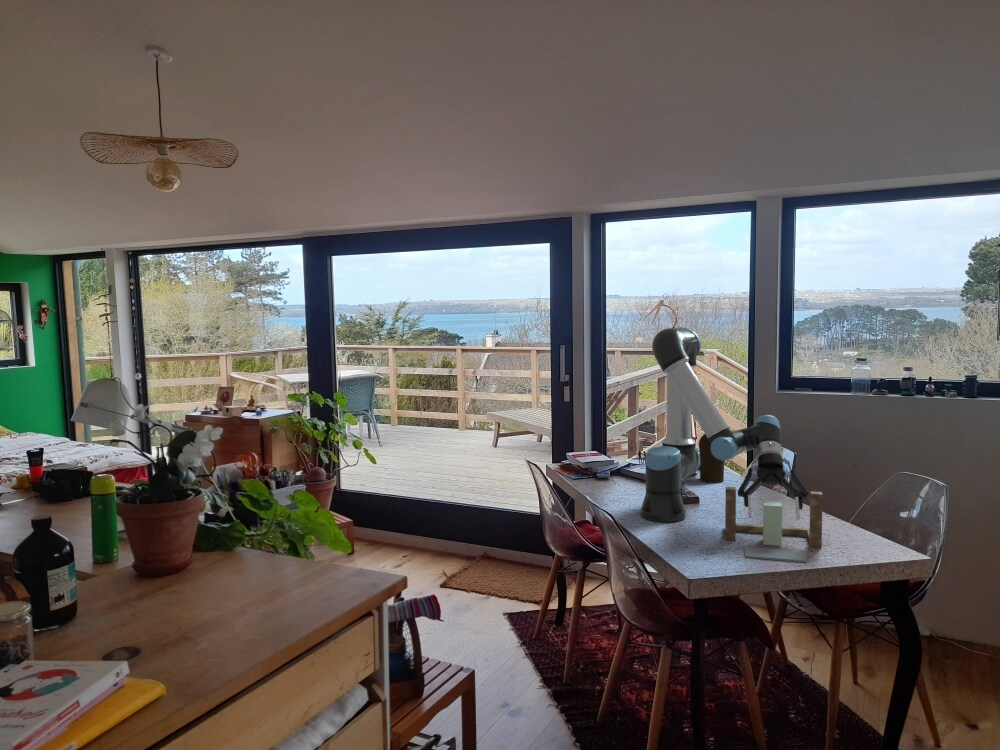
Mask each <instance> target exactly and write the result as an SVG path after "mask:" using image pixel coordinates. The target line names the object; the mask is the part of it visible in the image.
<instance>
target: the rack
mask: <svg viewBox="0 0 1000 750" xmlns="http://www.w3.org/2000/svg"><path fill="white" fill-rule="evenodd" d="M809 493H810V494H809V528H806V527H805V528H803V527H794V526H793V527H792V526H782V536H795V537H806V538H808V539H807V541H808V544H809V547H810V548H818V547H820V548H821V547H822V545H823V543H822V542H823V499H824V498H823V492H822V491H813V490H812V491H811V490H810V491H809ZM724 504H725V511H724V512H725V514H724V515H725V516H724V518H725V519H724V520H725V521H724V523H725V524H724V526H725V527H724V531H725V532H724V533H725V534H724V539H725V541H730V542H736V535H737V534H736V532H737V533H738V532H739V533H740V532H742V533H753V534H763V524H749V523H736V521H737V517H736V515H737V487H736V486H725V503H724ZM820 548H819V549H820ZM821 549H822V548H821Z"/></svg>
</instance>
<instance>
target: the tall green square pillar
mask: <svg viewBox="0 0 1000 750" xmlns="http://www.w3.org/2000/svg"><path fill="white" fill-rule="evenodd" d="M782 505H783V504H782V501H771V500H770V501H767V500H763V502H762V507H763V508H762V525H763V533H762V542H763V545H765V546H767V545H768V546H778V547H779V546H780V547H781V546H783V545H782V544H783V541H782V539H783V535H782V527H783V506H782Z"/></svg>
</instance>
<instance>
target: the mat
mask: <svg viewBox="0 0 1000 750" xmlns="http://www.w3.org/2000/svg"><path fill="white" fill-rule="evenodd" d="M744 556H745V558H746V559H755V558H756V560H757V559H758V560H768V561H780V562H782V561H783V562H792V563H793V562H795V563H802V564H804V563H805V564H807V563H808V562H807V561H808V560H807V556H806V555H805V551H803V550H791V549H781V548H780V549H778V548H767V547H766V548H765V547H753V546H744Z"/></svg>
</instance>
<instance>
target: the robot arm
mask: <svg viewBox="0 0 1000 750" xmlns="http://www.w3.org/2000/svg"><path fill="white" fill-rule="evenodd" d="M701 342H702V341H701V339H700V337H699V335H698V334H697V332H695V331H694V330H692V329H690V328H686V327H675V328H671V327H670V328H669V327H668V328H665V329H664V328H663V329H661V330H660V331H659V332H657V333H656V334H655V336H654V337H653V340H652V344H651V349H652V353H653V354H652V355H653V356H654V358H655V360H656V362H657V364H658V366H659V368H661V371H662V372H663V373H664V374H666V437H665V438H664V439H663V440H662V444H661V446H658V447H657V446H655V447H652V448H650V449H648V450H647V451H646V453H645V459H644V461H645V495H644V498H643V501H642V504H641V506H640V516H641V518H643V519H645V520H648V521H652V522H659V523H674V522H680V521H683V520H685V519H686V516H687V515H686V513H687V512H686V507H685V505H684V502H683V499H682V496H681V480H684V479H687V478H689V477H691V476H692V475H693V474H694V473H695V472H696V471H697V470H698V469H699V468H700V456H699V450H697V448H696V447H697V445H696V440H695V439H693V437H692V415H693V416H694V418H695V421H696V422H697V423H698V425H699V426H700V428H701V429H702V431H703V434H706V436H707V438H708V439H709V441H710V443H711V453H712V454H713V456H714V457H715V458H717V459H719V460H724V461H728V460H732V459H734V458H735V457H736V456H738V455H741V454H743V453H744V452H748V451H752V450H755V449H756V452H757V454H756V455H757V470H756V469H752V468H751V467H749V468H748V469H747V475H746V476H745V478H744V480H743V481H742V482H741V485H740V486H739V488H738V489H737V496H738V497H742V498H743V504H744V505H743V506H744V507H745V508H747V511H748V517H747V518H748V519H749V518H750V519H751V518H752V499H751V496H752V494H754V493H755V492H756V491H757V490H758V489H759V488H760V487H762V486H763V485H764V484H766V485H768V486H769V485H773V486H777V485H779V486H780V487H782V488H784V489H785V490H786V491H787V492H788V493H789V494H790V495H791V496H792V497H794V504H795V505H794V506H795V517H796V519H795V520H796V521H800V519H801V518H800V517H801V515H800V514H801V513H800V510H803V506H804V505H803V503H804V501H803V500H808V498H809V492H808V491H807V489H806V488H805V486H804V485H803V484H802V482H801V481H800V480H799V478H798V477H797V476H796V473H795V472H796V471H795V470H794V469H791V470H789V471H785V469H784V460H783V459H784V458H783V450H782V449H783V448H782V436H781V435H782V433H781V432H782V430H781V426H780V424H781V423H780V420H779V419H778V418H777V417H776V416H774V415H771V414H765V415H760V416H759V417H758V418H756V420H755V424H754V425H751V426H748V427H746V428H741V429H737V430H733V431H731V429H730V428H729V425H728V424H727V422H726V421H725V419H724V418H723V415H722V414H721V413H720V411H719V410H718V408H717V406H716V405H715V403H714V401H713V400H712V398H711V397H710V396H709V394H708V392H707V391H706V389H705V387H704V385H703V384H702V381H700V379H699V377H698V376H697V375H696V373H695V371H694V369H695V368H696V367H697V356H698V355H699V353H701V349H702V348H701V347H702V344H701ZM756 476H757V477H758V478H757V479H756V480H755V481H754V482H753V483H752V484H751V485H750V486H749V484H750V482H751V481H752V478H755V477H756ZM786 477H787V478H788V479H789V480H791V482H792V484H793V485H794V486H793V485H792V484H791V483H790V482H788V481H787V479H786ZM748 486H749V487H748ZM747 487H748V488H747Z"/></svg>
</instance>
